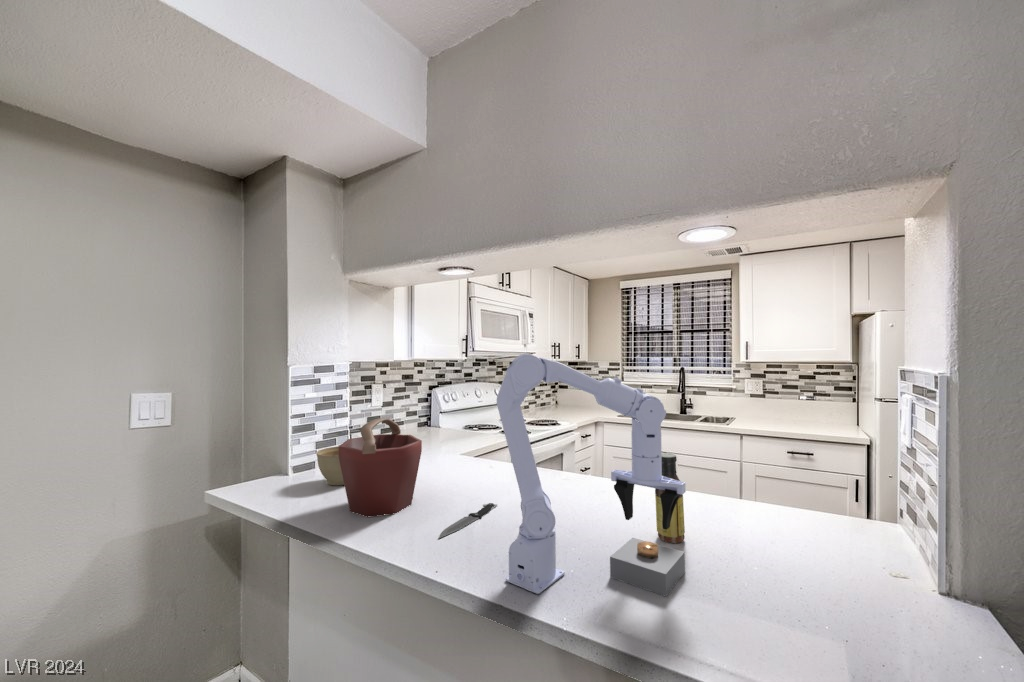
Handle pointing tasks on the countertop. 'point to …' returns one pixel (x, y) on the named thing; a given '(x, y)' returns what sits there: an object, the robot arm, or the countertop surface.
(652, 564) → the block
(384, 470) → the bucket
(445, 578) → the countertop surface
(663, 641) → the countertop surface
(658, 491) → the sauce bottle
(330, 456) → the planter bowl
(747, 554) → the countertop surface
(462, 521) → the knife
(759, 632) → the countertop surface
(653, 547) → the plunger
